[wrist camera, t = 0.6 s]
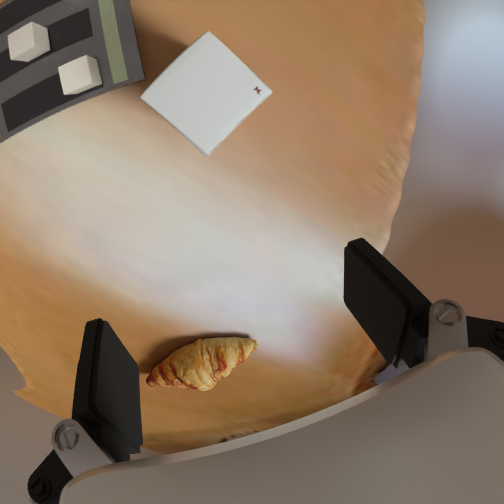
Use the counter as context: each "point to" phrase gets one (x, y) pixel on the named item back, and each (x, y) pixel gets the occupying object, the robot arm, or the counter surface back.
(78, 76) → the block
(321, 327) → the counter surface
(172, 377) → the croissant
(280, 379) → the counter surface
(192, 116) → the supplement box
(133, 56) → the panel
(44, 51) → the block
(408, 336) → the robot arm
